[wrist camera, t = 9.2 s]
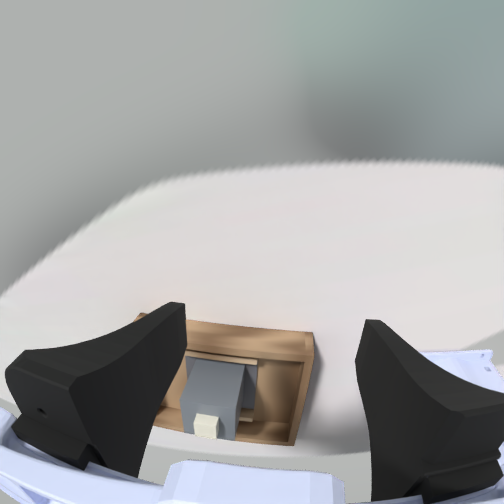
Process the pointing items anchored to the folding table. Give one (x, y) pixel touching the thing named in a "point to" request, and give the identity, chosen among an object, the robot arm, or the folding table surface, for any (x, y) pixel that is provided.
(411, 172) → the folding table surface
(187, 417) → the plug
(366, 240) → the folding table surface
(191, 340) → the caddy
